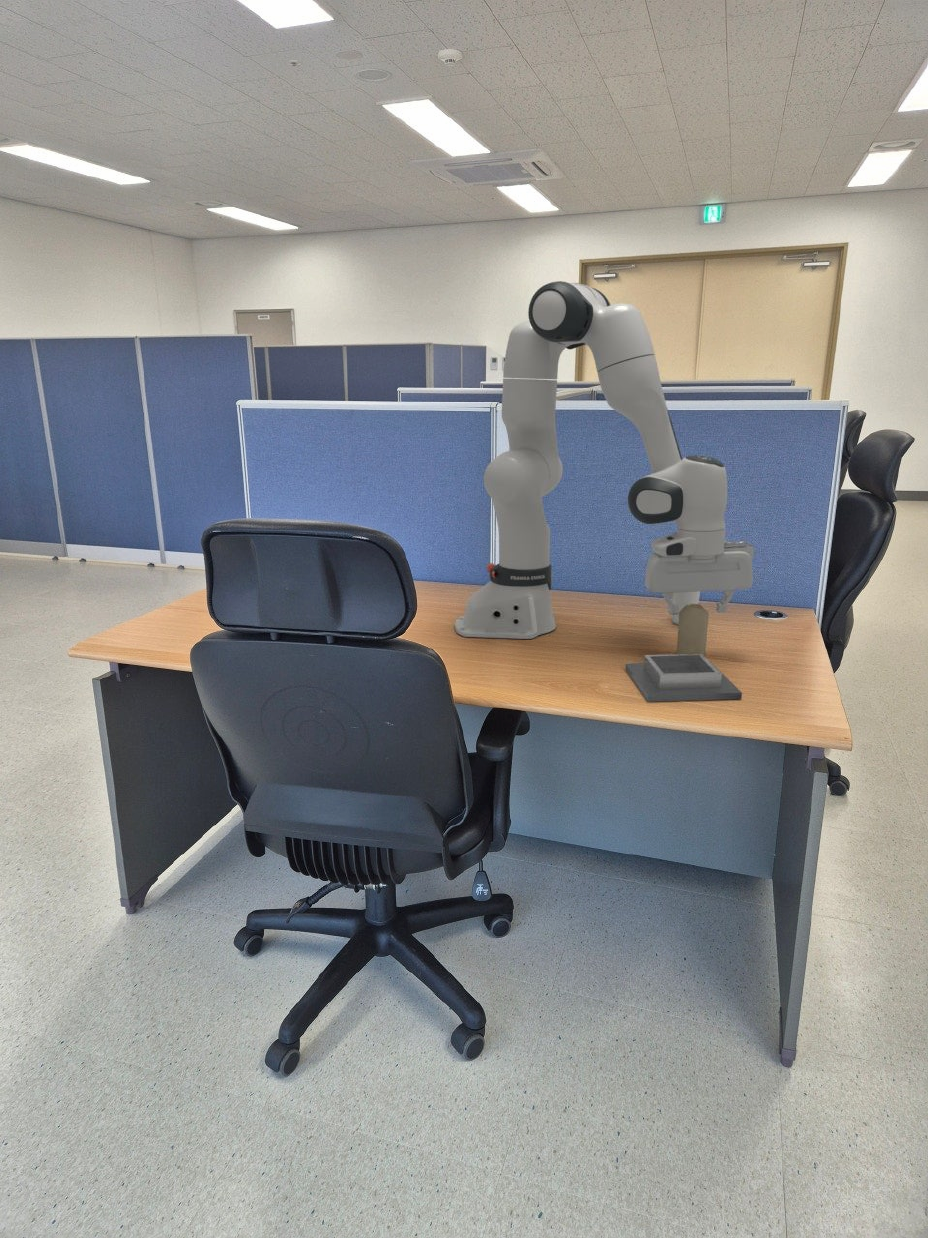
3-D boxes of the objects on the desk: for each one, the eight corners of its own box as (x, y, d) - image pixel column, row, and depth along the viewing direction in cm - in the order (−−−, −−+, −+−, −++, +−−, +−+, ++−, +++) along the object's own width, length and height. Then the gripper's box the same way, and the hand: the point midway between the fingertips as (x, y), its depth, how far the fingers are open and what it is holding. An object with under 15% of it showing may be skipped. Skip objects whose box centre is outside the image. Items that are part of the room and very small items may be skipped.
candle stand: (647, 702, 132) (648, 681, 131) (625, 669, 147) (626, 650, 146) (741, 699, 132) (743, 678, 131) (709, 667, 148) (711, 648, 147)
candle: (700, 660, 152) (704, 610, 149) (672, 655, 155) (676, 606, 152) (708, 652, 156) (712, 603, 153) (681, 647, 159) (684, 600, 156)
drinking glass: (696, 618, 179) (700, 554, 174) (702, 627, 172) (706, 560, 168) (666, 618, 179) (669, 554, 175) (670, 627, 173) (674, 560, 169)
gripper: (747, 537, 152) (743, 606, 156) (643, 542, 152) (641, 610, 156) (760, 543, 146) (756, 614, 150) (652, 548, 146) (650, 619, 149)
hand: (697, 612), depth 153 cm, fingers open, 8 cm apart
